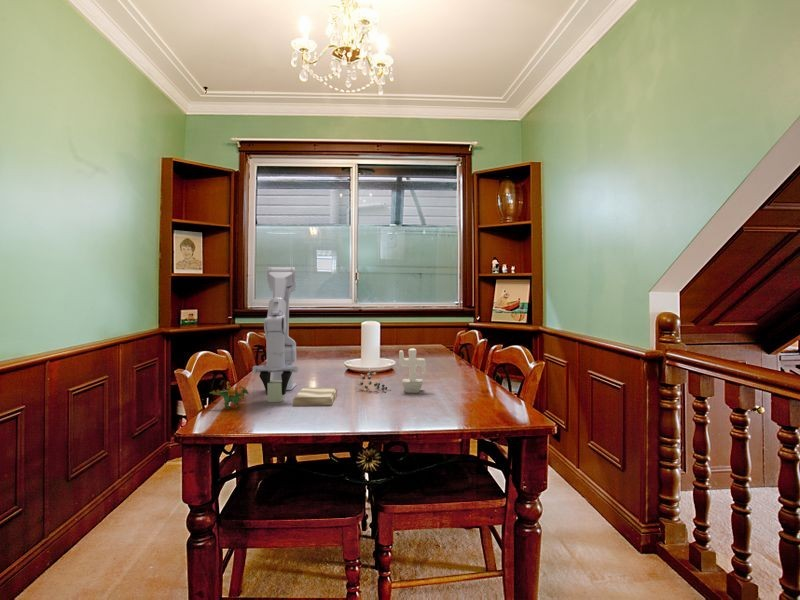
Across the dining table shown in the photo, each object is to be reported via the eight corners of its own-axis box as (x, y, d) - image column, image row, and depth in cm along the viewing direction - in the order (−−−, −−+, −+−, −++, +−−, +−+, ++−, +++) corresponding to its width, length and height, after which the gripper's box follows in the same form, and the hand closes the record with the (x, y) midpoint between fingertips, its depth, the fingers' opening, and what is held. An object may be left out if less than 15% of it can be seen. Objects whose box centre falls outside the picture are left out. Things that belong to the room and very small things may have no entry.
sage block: (271, 398, 150) (271, 380, 150) (284, 398, 150) (284, 380, 150) (267, 401, 146) (267, 383, 145) (281, 401, 146) (281, 383, 145)
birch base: (302, 394, 155) (301, 387, 155) (337, 394, 155) (337, 387, 155) (293, 405, 141) (292, 397, 141) (331, 405, 141) (331, 397, 141)
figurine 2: (426, 393, 156) (426, 350, 155) (398, 393, 156) (398, 350, 156) (425, 388, 163) (425, 347, 162) (399, 388, 163) (399, 347, 163)
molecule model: (385, 400, 156) (394, 378, 158) (354, 386, 158) (363, 365, 159) (386, 401, 162) (395, 380, 164) (356, 388, 164) (365, 367, 165)
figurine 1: (247, 409, 137) (246, 382, 137) (207, 409, 137) (207, 382, 137) (250, 406, 140) (250, 380, 140) (211, 406, 140) (211, 380, 140)
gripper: (249, 354, 143) (249, 397, 144) (295, 354, 143) (295, 397, 144) (256, 351, 150) (256, 392, 151) (299, 351, 150) (300, 391, 151)
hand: (276, 394), depth 148 cm, fingers closed on sage block, 4 cm apart
